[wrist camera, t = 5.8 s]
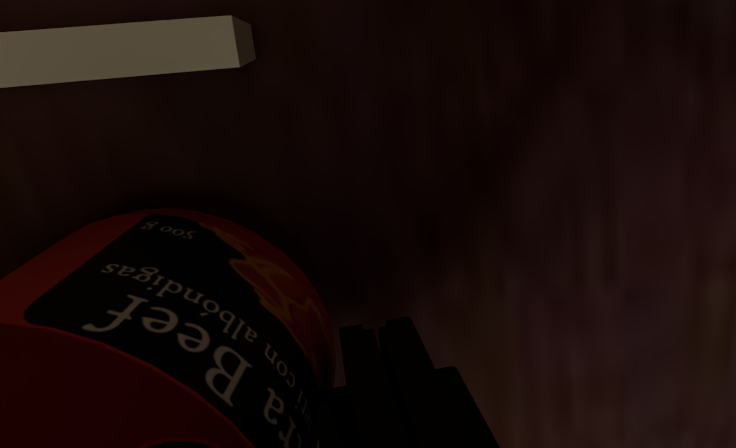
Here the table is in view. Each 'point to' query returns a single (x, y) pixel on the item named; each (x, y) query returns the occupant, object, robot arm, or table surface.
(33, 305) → the canned food
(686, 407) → the table surface
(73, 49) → the box
